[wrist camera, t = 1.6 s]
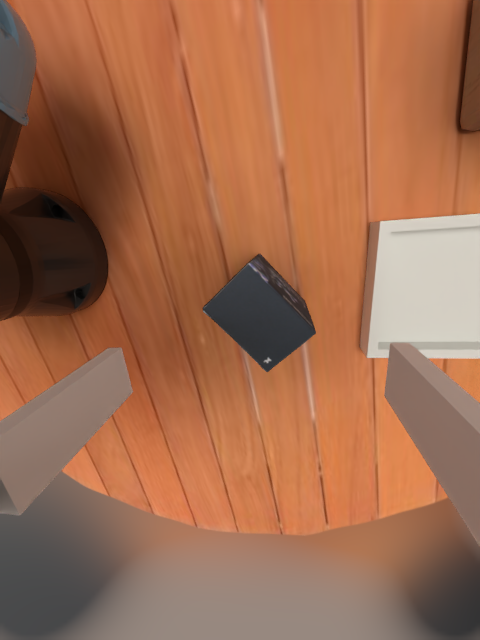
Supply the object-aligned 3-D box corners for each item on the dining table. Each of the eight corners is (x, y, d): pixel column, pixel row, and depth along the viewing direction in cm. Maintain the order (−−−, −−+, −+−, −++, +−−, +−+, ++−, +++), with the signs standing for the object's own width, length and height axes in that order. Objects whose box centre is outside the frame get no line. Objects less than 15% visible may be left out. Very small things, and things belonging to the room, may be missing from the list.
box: (306, 300, 30) (318, 334, 20) (270, 330, 31) (265, 375, 22) (259, 251, 29) (248, 261, 19) (226, 285, 30) (199, 310, 21)
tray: (359, 346, 30) (366, 357, 28) (370, 222, 26) (380, 221, 23) (536, 346, 27) (563, 359, 25) (583, 205, 23) (622, 202, 20)
